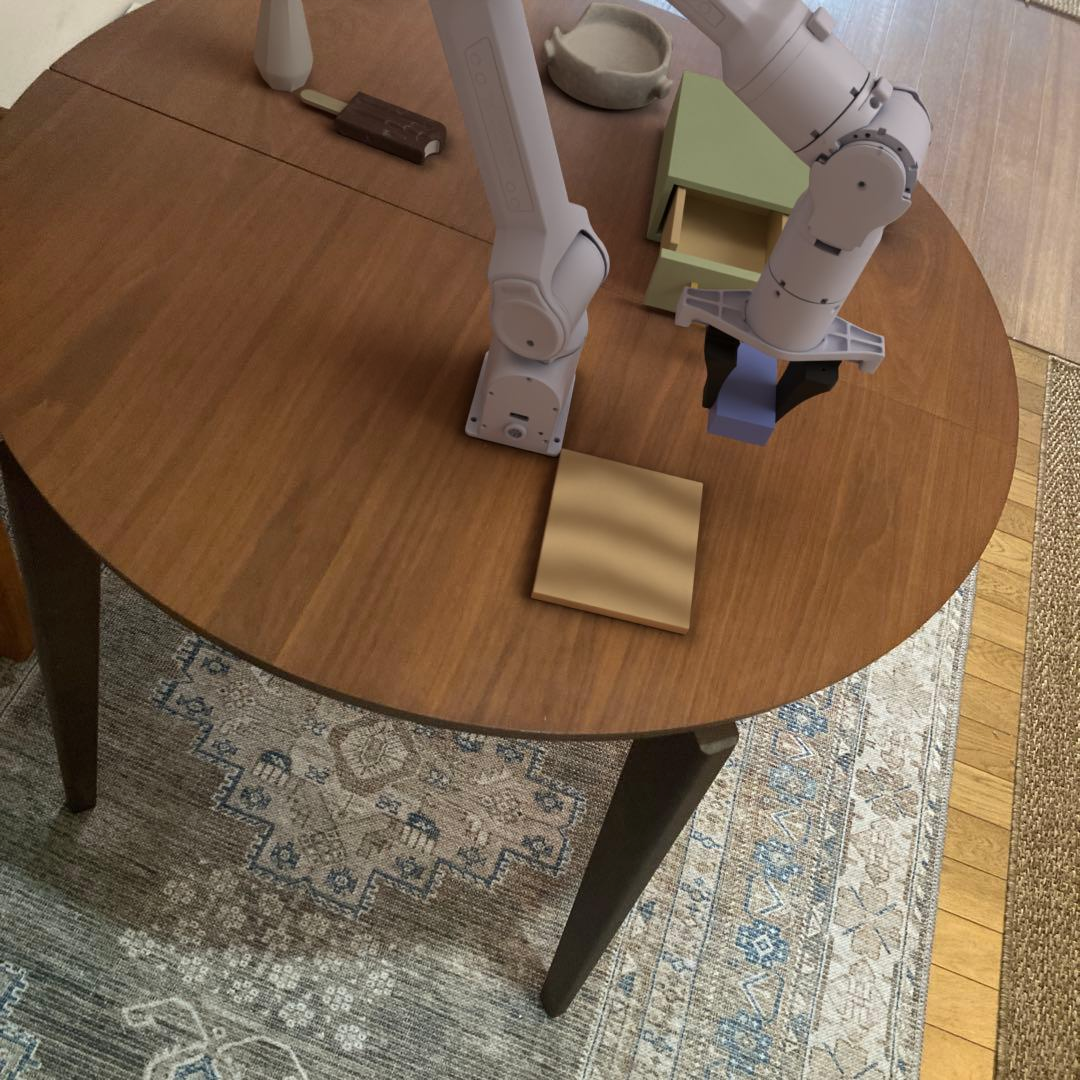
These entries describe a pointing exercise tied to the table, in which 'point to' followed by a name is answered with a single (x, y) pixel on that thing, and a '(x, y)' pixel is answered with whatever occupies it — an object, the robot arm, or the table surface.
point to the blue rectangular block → (746, 399)
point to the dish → (611, 57)
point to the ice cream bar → (383, 125)
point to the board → (620, 542)
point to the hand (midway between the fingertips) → (739, 406)
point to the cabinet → (722, 152)
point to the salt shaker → (283, 44)
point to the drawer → (711, 245)
